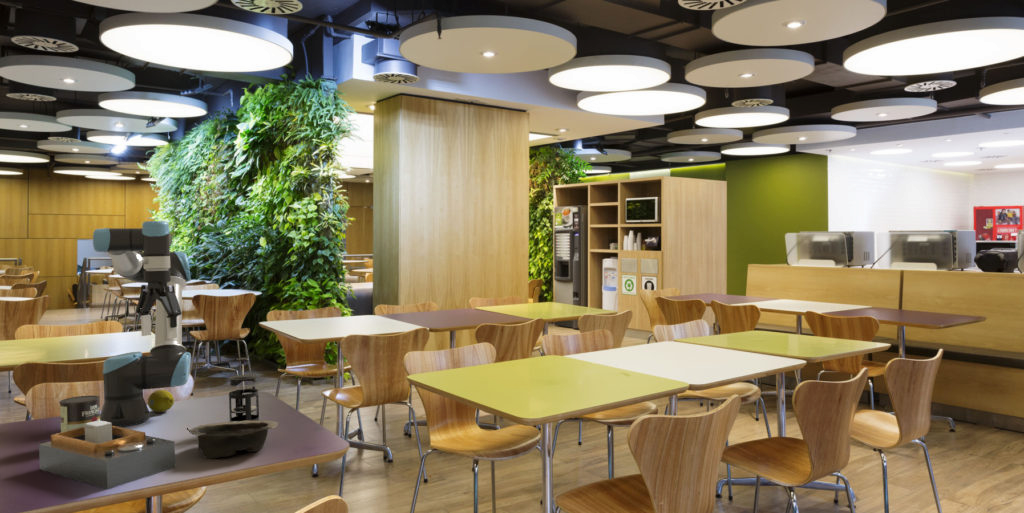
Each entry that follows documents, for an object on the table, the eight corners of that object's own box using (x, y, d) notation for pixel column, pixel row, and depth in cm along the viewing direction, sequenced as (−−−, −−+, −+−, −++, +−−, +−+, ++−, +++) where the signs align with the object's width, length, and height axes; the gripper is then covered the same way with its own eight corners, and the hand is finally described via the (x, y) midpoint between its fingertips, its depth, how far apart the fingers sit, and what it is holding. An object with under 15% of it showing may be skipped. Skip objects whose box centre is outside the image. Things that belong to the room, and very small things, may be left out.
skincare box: (85, 467, 181) (83, 423, 181) (101, 462, 185) (99, 419, 185) (97, 470, 178) (96, 426, 178) (113, 465, 182) (112, 422, 182)
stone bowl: (198, 469, 177) (196, 434, 177) (181, 453, 197) (179, 422, 198) (291, 449, 192) (289, 417, 192) (266, 436, 212) (264, 407, 212)
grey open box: (39, 469, 180) (38, 436, 179) (107, 451, 195) (106, 420, 195) (107, 489, 164) (106, 452, 164) (175, 467, 180) (174, 434, 179)
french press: (264, 428, 216) (262, 358, 216) (234, 434, 210) (232, 362, 210) (253, 421, 226) (251, 354, 225) (224, 426, 220) (222, 357, 219)
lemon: (143, 412, 242) (143, 390, 242) (165, 407, 248) (165, 386, 248) (156, 416, 235) (156, 394, 235) (179, 412, 241) (178, 390, 241)
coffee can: (109, 440, 206) (107, 395, 206) (81, 450, 196) (80, 403, 196) (81, 439, 208) (79, 394, 208) (52, 449, 198) (50, 402, 198)
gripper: (122, 270, 213) (124, 335, 213) (169, 270, 200) (171, 340, 201) (145, 268, 219) (147, 332, 220) (192, 269, 207) (194, 337, 207)
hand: (159, 336), depth 210 cm, fingers open, 13 cm apart
